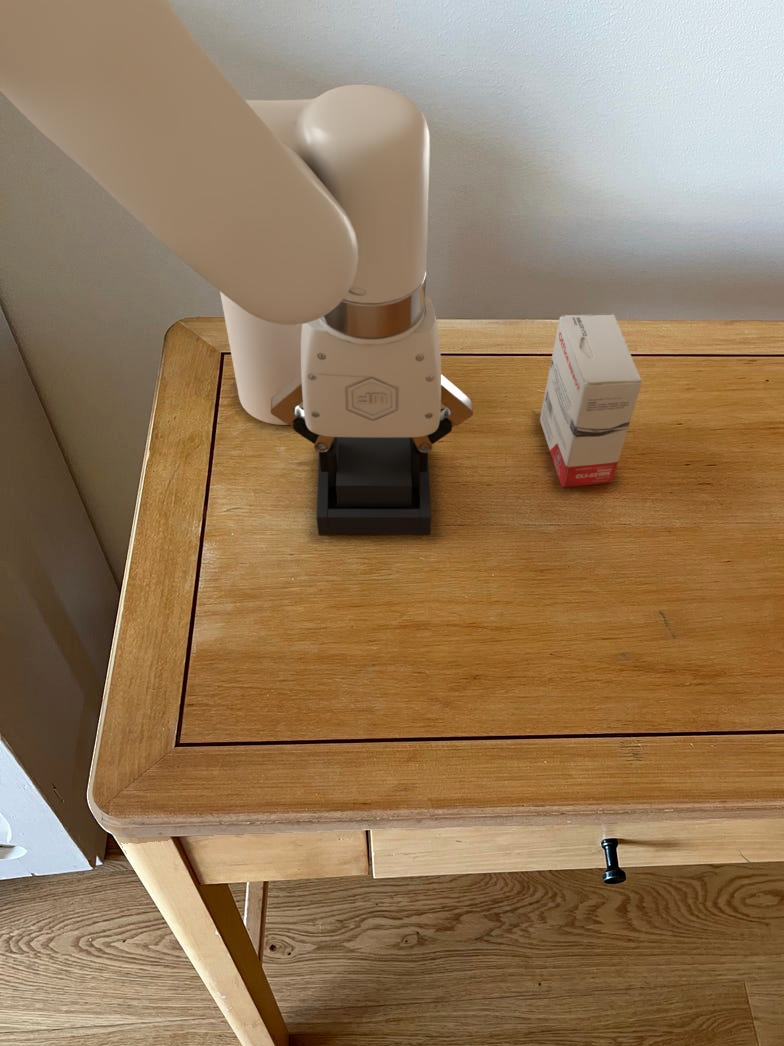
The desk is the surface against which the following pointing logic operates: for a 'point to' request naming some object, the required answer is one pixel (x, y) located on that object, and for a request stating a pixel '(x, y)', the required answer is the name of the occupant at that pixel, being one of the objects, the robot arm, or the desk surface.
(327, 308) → the robot arm
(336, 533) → the socket pad
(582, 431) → the ink box
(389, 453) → the black pad
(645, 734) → the desk surface
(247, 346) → the cup
